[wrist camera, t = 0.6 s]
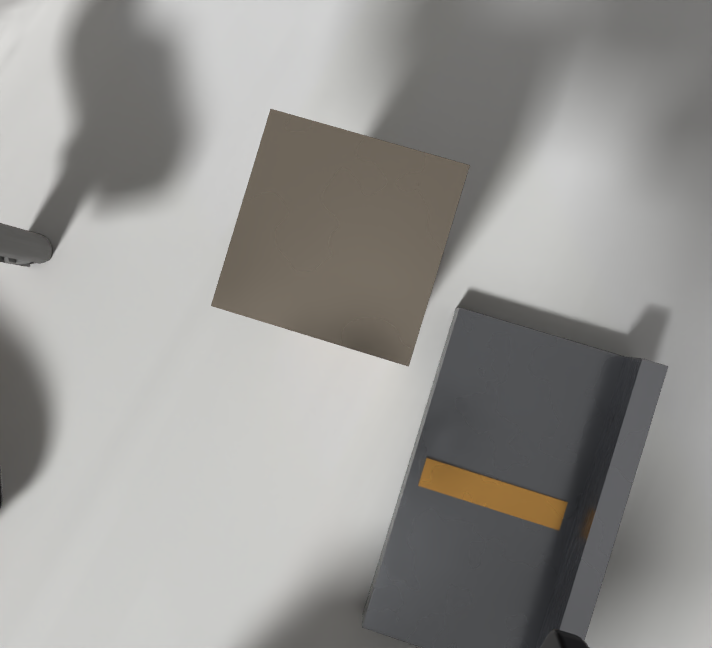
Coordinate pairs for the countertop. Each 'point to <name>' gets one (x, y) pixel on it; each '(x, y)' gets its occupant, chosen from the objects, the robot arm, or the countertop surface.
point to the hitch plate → (512, 489)
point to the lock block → (340, 236)
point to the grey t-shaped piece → (23, 246)
